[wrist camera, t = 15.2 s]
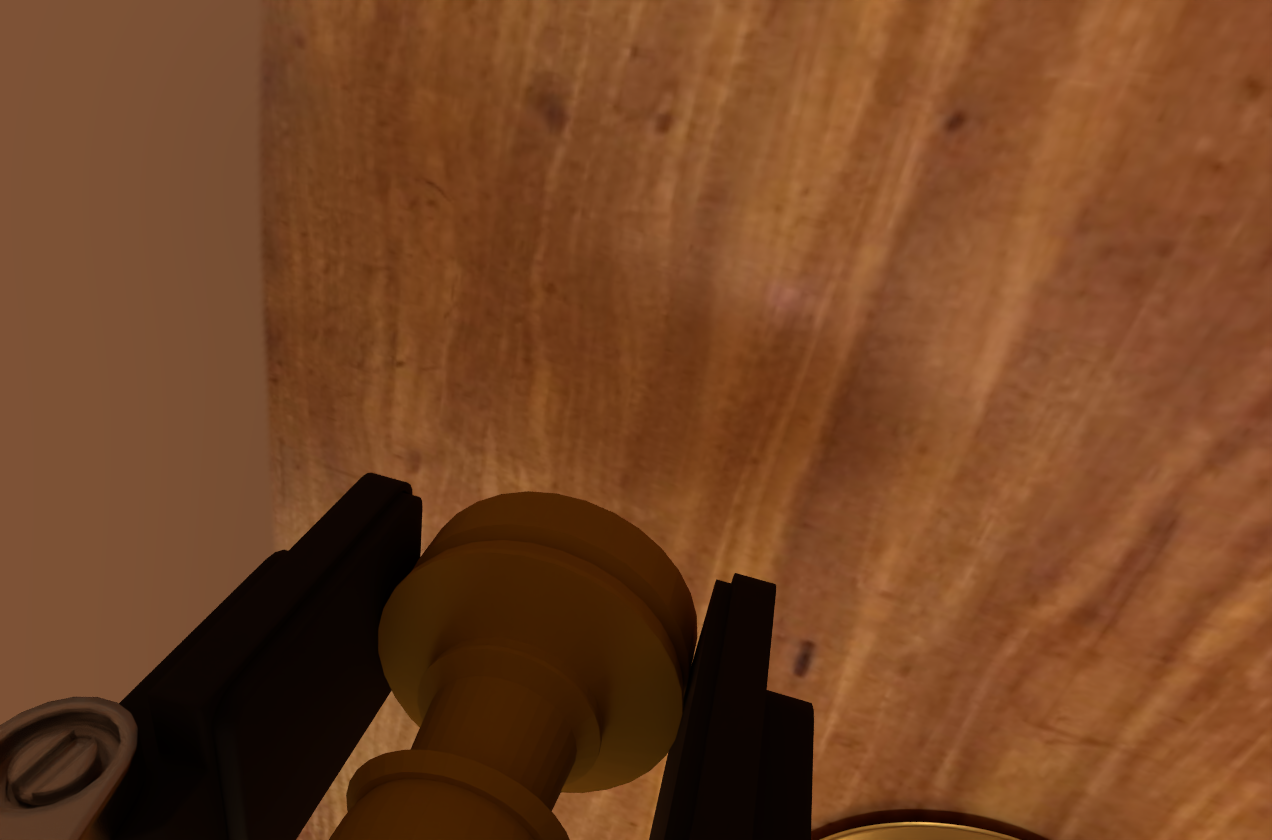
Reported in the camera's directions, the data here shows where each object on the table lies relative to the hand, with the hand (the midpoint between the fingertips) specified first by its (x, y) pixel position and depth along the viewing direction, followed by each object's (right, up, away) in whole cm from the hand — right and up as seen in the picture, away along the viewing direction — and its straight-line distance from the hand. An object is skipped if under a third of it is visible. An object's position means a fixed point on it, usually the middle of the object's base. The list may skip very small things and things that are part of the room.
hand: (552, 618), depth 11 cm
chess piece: (0, 0, 0) cm, 1 cm away
